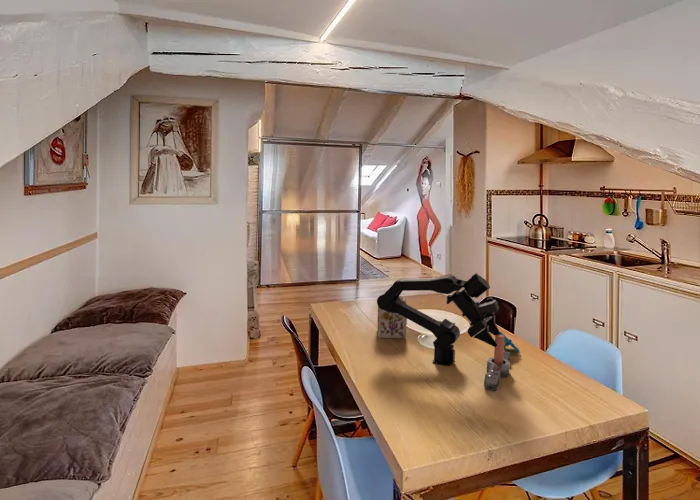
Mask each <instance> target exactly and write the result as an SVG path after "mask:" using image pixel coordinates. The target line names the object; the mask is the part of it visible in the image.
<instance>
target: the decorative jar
mask: <svg viewBox="0 0 700 500" xmlns="http://www.w3.org/2000/svg"><path fill="white" fill-rule="evenodd" d="M399 297H400V299H401V300H402V301H403V302H404V303H405V304H407V300H406V298H405V297H403V296H401V295H399ZM407 321H408V319H407V318H405V317H403V316H401V315H400V314H398V313H392V312H387V311H384V310H382V309H380V308H379V307H378V306H377V335H378V338H379V339H407V329H408V328H407V326H406V325H408V322H407Z"/></svg>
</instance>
